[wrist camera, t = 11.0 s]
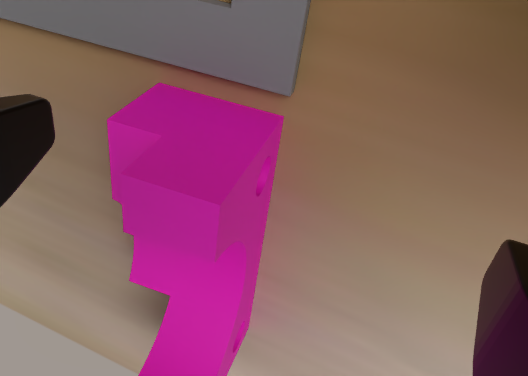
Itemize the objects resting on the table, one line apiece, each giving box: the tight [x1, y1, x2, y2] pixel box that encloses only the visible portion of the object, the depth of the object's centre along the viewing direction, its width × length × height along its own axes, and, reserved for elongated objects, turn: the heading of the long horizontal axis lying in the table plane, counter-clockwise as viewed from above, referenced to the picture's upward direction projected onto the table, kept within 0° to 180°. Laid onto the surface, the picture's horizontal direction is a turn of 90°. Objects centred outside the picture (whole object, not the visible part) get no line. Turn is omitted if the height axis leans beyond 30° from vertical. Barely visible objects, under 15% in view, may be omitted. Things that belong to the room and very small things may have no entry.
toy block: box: [107, 83, 284, 376], centre depth 24 cm, size 15×6×8 cm, turn 172°
